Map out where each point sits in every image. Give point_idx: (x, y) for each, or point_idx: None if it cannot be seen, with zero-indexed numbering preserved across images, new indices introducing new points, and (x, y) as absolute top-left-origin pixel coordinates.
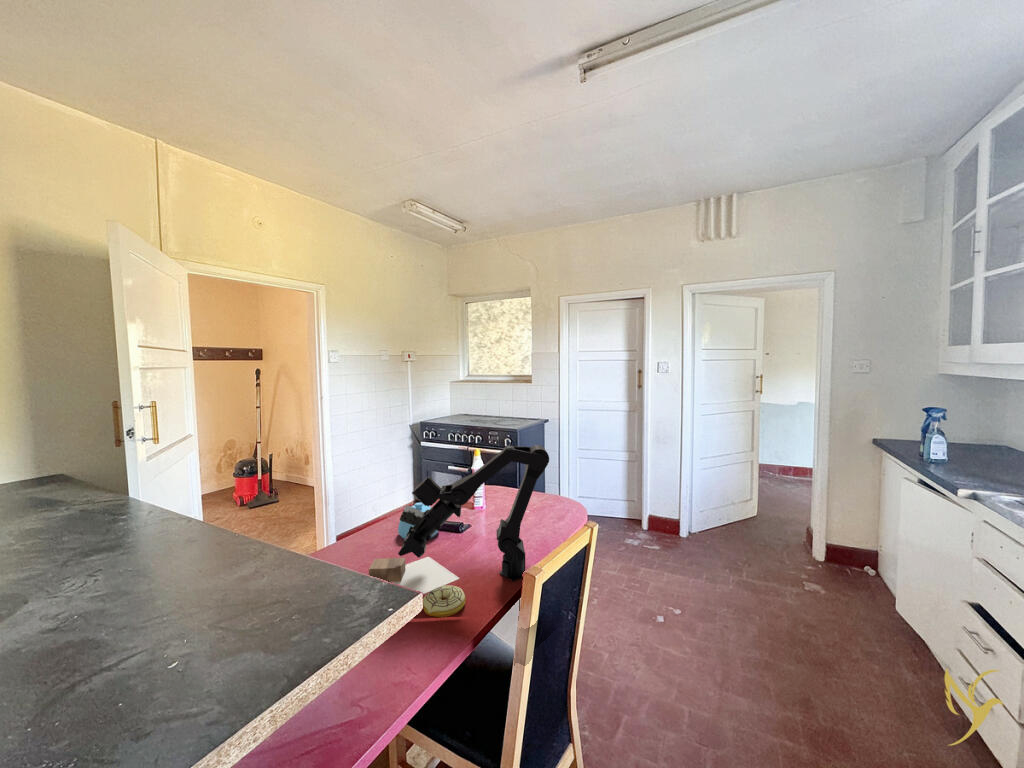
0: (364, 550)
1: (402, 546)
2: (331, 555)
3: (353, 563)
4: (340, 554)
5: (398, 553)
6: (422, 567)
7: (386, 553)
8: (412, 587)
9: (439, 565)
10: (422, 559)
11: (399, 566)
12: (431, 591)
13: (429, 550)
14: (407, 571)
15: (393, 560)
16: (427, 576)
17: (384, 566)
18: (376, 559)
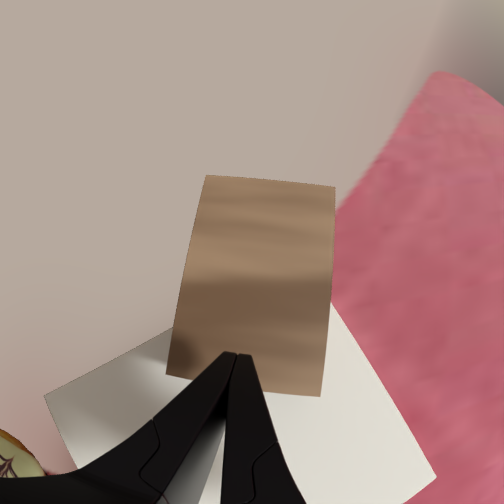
0: (498, 169)
1: (252, 398)
2: (447, 86)
3: (411, 138)
4: (458, 105)
5: (220, 355)
6: (325, 475)
7: (495, 254)
8: (124, 424)
9: None
10: (415, 457)
11: (187, 365)
12: (6, 474)
13: (497, 452)
14: (297, 401)
15: (293, 313)
16: (214, 500)
17: (211, 260)
18: (326, 198)
